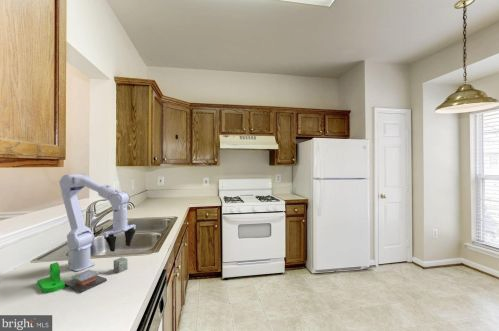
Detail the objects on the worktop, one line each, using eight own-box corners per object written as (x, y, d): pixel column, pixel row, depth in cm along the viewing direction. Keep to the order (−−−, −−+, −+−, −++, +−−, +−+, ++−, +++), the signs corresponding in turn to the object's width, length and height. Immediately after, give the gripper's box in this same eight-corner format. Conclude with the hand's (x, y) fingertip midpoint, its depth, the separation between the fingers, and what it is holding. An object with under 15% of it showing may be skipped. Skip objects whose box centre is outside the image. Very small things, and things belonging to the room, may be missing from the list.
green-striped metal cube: (113, 271, 108) (113, 260, 107) (121, 267, 111) (121, 257, 111) (119, 273, 106) (119, 262, 106) (127, 269, 109) (127, 258, 109)
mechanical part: (37, 285, 96) (36, 265, 96) (55, 279, 100) (55, 260, 100) (45, 295, 88) (45, 274, 88) (65, 288, 93) (64, 268, 93)
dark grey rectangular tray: (63, 285, 95) (63, 276, 95) (89, 274, 104) (89, 267, 104) (80, 292, 90) (80, 283, 90) (106, 281, 99) (106, 272, 99)
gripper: (110, 223, 100) (110, 255, 100) (139, 216, 113) (140, 244, 113) (100, 221, 103) (100, 252, 103) (130, 214, 116) (130, 242, 116)
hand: (120, 248), depth 108 cm, fingers open, 7 cm apart
